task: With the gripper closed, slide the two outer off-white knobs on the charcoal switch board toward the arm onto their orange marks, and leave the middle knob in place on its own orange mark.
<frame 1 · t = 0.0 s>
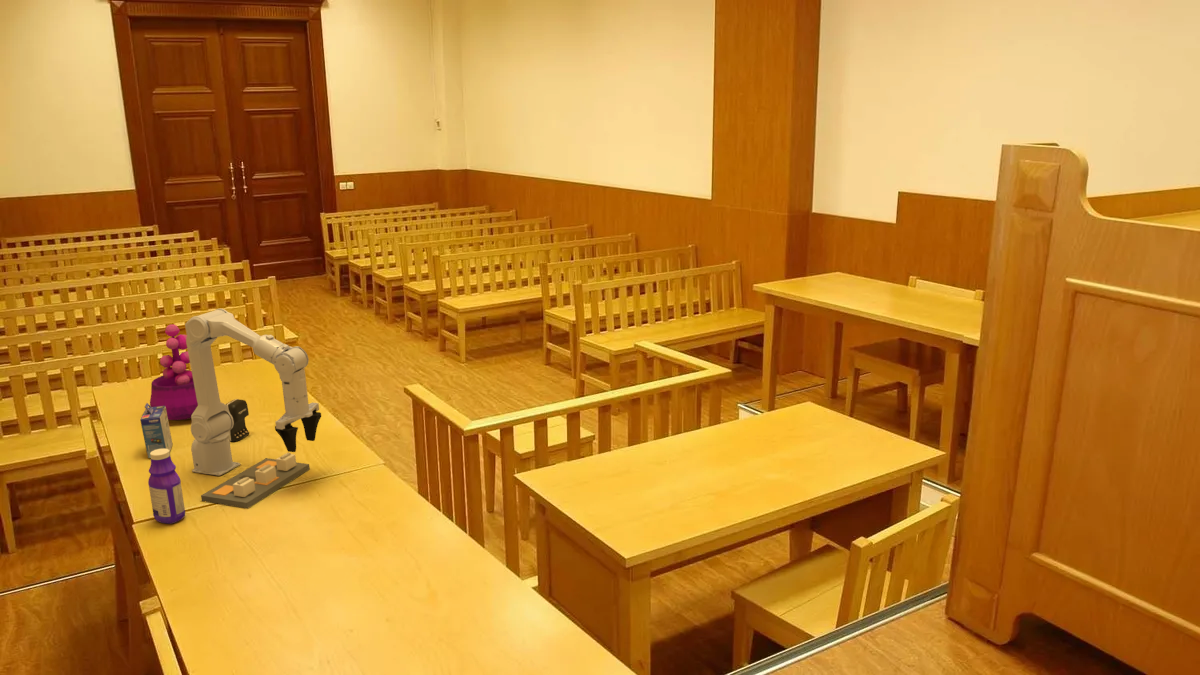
hand: (301, 445, 222), 10 cm above the table, tool pointing down, fingers open, 7 cm apart
decorative plant: (185, 416, 273), on the table
switch b: (265, 473, 222), point 4 cm above the table, slide at 0.0 cm
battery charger: (240, 438, 255), on the table
bottle: (170, 519, 206), on the table
ink cartridge box: (160, 452, 246), on the table
switch a: (286, 461, 229), point 4 cm above the table, slide at 0.0 cm
switch board: (257, 484, 223), on the table
switch c: (243, 486, 214), point 4 cm above the table, slide at 0.0 cm
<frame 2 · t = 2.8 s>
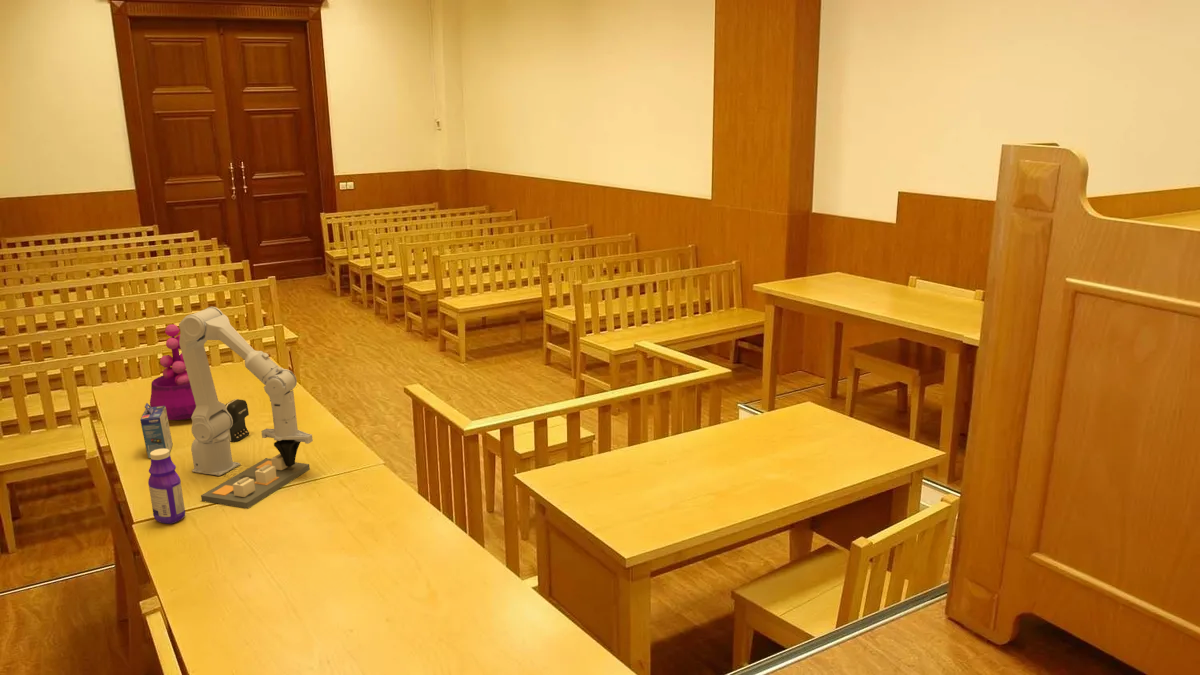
hand: (290, 465, 229), 3 cm above the table, tool pointing down, fingers closed
switch a: (281, 460, 229), point 4 cm above the table, slide at 1.5 cm, touching gripper
everything else where it was.
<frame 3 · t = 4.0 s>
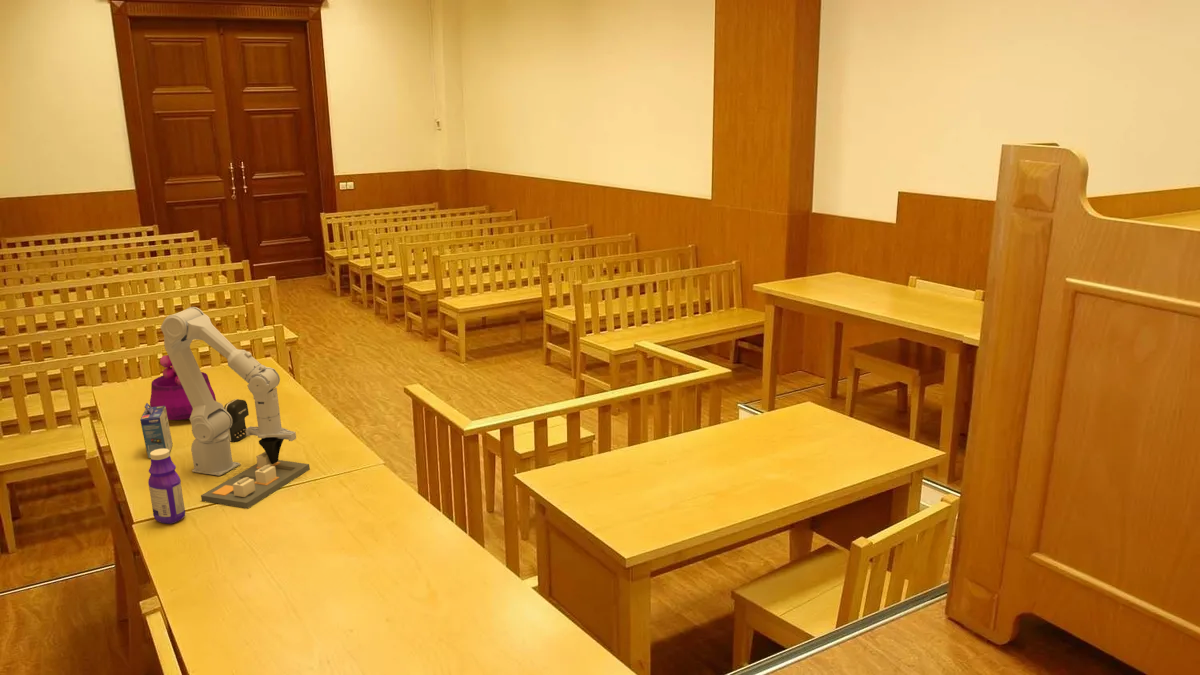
hand: (274, 462, 230), 3 cm above the table, tool pointing down, fingers closed
switch a: (266, 458, 231), point 4 cm above the table, slide at 6.2 cm, touching gripper
everything else where it was.
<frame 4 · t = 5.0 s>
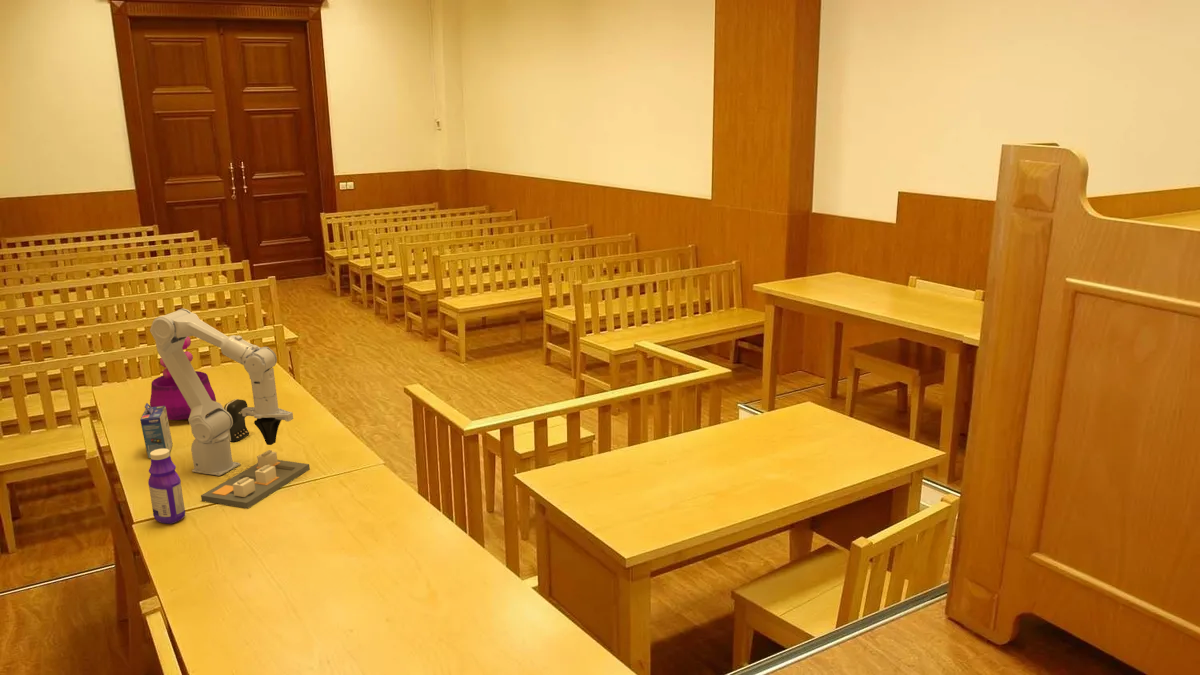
hand: (271, 443, 228), 8 cm above the table, tool pointing down, fingers closed
switch a: (267, 458, 231), point 4 cm above the table, slide at 6.1 cm
everything else where it was.
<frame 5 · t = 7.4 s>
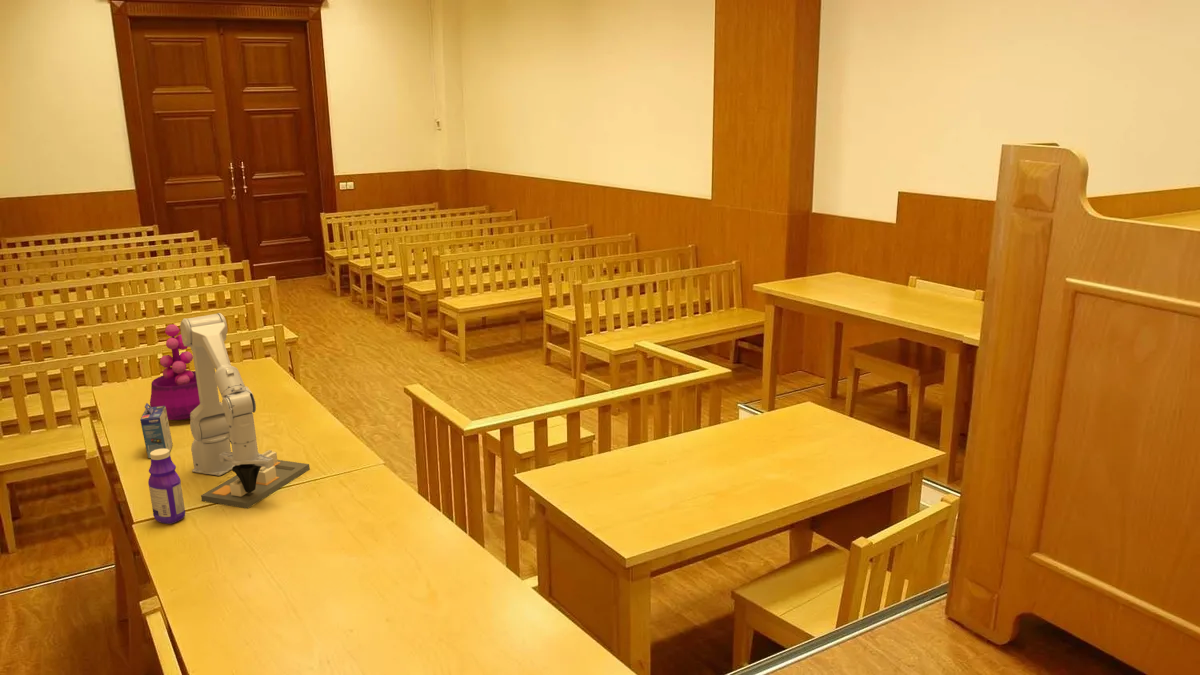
hand: (250, 490, 214), 3 cm above the table, tool pointing down, fingers closed
switch c: (240, 485, 215), point 4 cm above the table, slide at 0.9 cm, touching gripper
everything else where it was.
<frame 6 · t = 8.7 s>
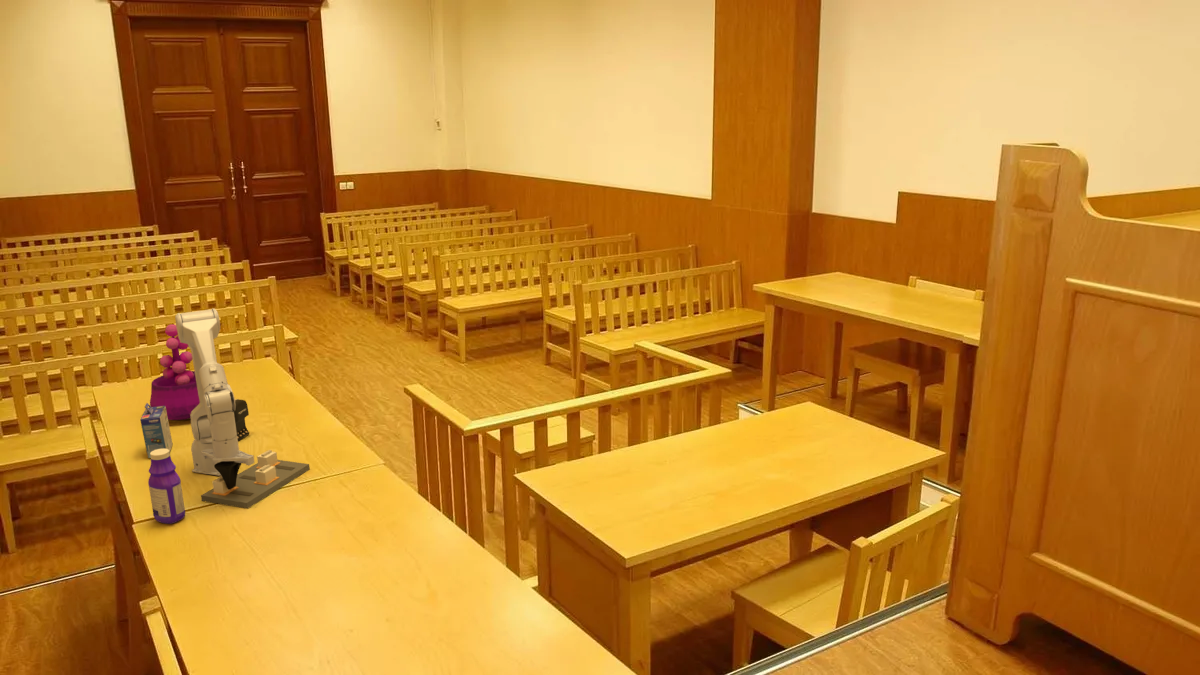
hand: (231, 487, 216), 3 cm above the table, tool pointing down, fingers closed
switch c: (223, 483, 216), point 4 cm above the table, slide at 6.3 cm, touching gripper
everything else where it was.
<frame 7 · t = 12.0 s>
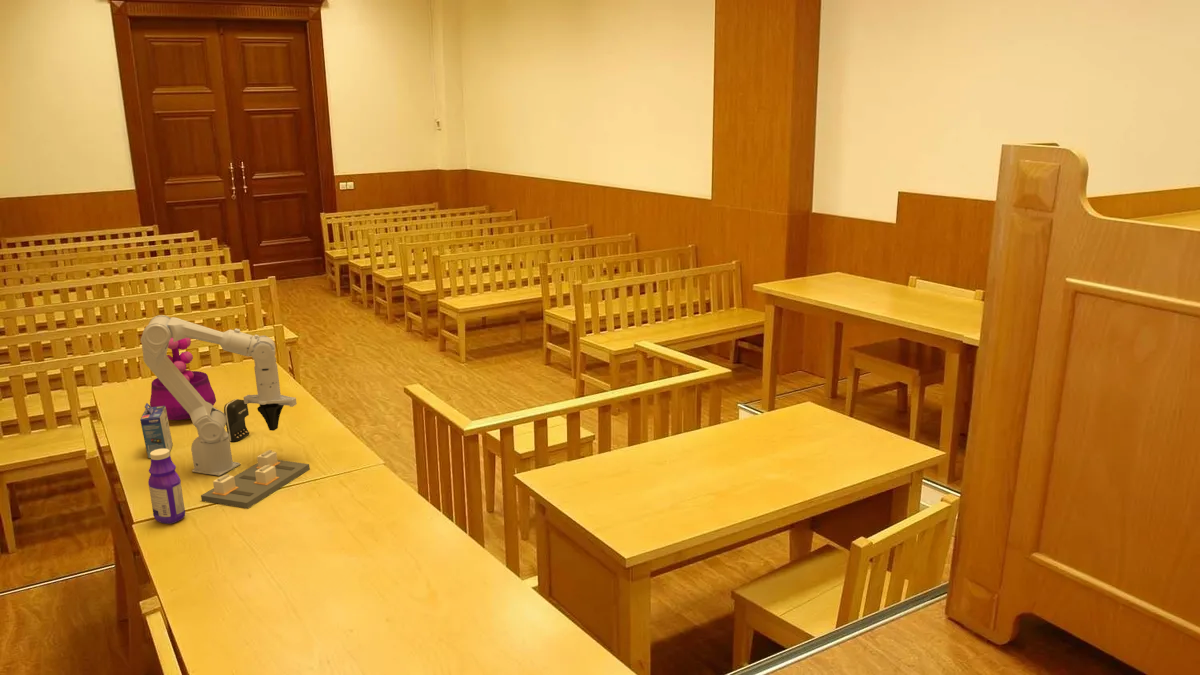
hand: (273, 429, 235), 9 cm above the table, tool pointing down, fingers closed
switch c: (224, 483, 216), point 4 cm above the table, slide at 6.1 cm
everything else where it was.
at the end: switch a slide at 6.1 cm; switch c slide at 6.1 cm; switch b slide at 0.0 cm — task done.
